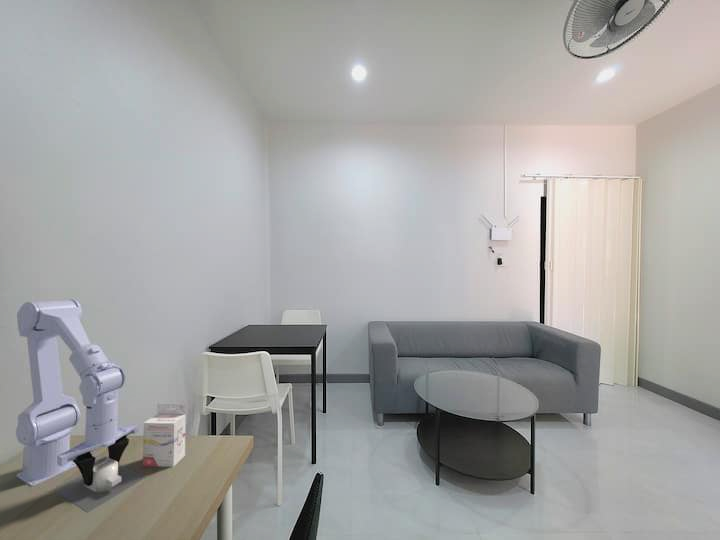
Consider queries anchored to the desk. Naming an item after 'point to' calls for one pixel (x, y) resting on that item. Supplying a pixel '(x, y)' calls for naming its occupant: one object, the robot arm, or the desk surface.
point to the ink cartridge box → (165, 436)
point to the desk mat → (91, 499)
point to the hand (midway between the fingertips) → (100, 477)
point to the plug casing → (104, 474)
